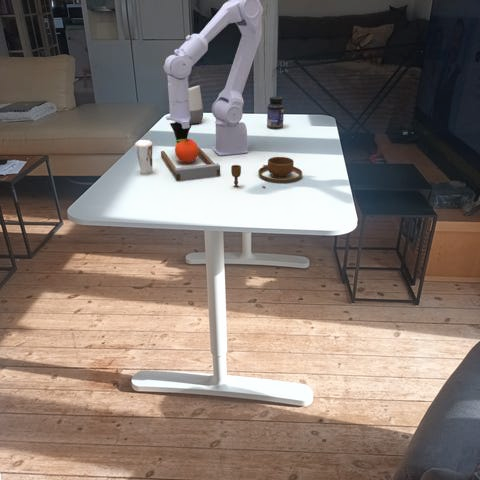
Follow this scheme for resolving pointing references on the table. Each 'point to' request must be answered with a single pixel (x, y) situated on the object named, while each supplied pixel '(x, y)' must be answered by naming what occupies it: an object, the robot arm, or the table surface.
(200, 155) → the lane rails
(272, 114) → the pill bottle
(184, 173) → the stop bar
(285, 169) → the place setting
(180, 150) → the clementine
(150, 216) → the table surface
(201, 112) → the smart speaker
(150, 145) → the milkshake
